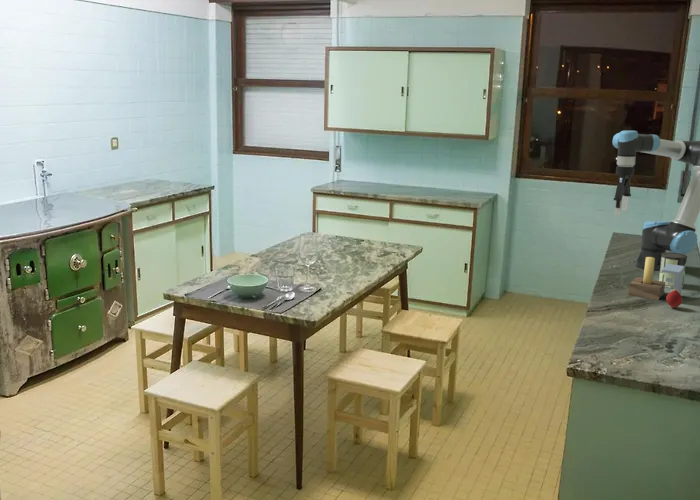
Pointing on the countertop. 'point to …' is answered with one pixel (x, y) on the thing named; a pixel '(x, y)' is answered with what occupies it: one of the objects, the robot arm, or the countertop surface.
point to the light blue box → (678, 273)
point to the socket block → (646, 289)
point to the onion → (674, 298)
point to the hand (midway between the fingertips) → (620, 212)
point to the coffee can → (675, 260)
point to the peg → (648, 270)
